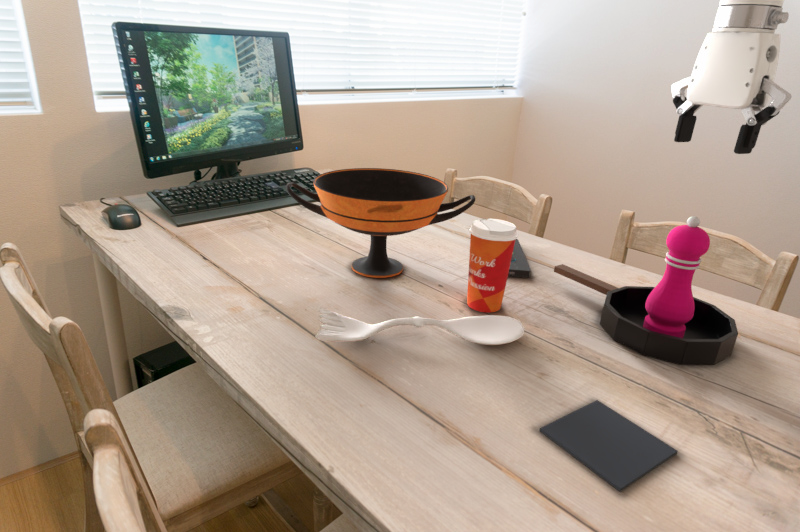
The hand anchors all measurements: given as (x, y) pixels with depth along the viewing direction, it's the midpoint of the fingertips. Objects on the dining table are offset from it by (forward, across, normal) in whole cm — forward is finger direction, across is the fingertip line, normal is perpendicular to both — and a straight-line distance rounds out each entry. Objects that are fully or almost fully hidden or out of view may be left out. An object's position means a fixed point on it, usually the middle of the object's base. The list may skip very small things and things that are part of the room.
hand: (710, 147), depth 80 cm
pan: (+30, +4, +3) cm, 31 cm away
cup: (+30, +39, +36) cm, 61 cm away
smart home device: (+30, +35, +7) cm, 47 cm away
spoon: (+30, +11, +41) cm, 52 cm away
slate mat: (+30, -18, +32) cm, 48 cm away
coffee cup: (+30, +17, +25) cm, 43 cm away
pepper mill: (+30, -2, +2) cm, 30 cm away
